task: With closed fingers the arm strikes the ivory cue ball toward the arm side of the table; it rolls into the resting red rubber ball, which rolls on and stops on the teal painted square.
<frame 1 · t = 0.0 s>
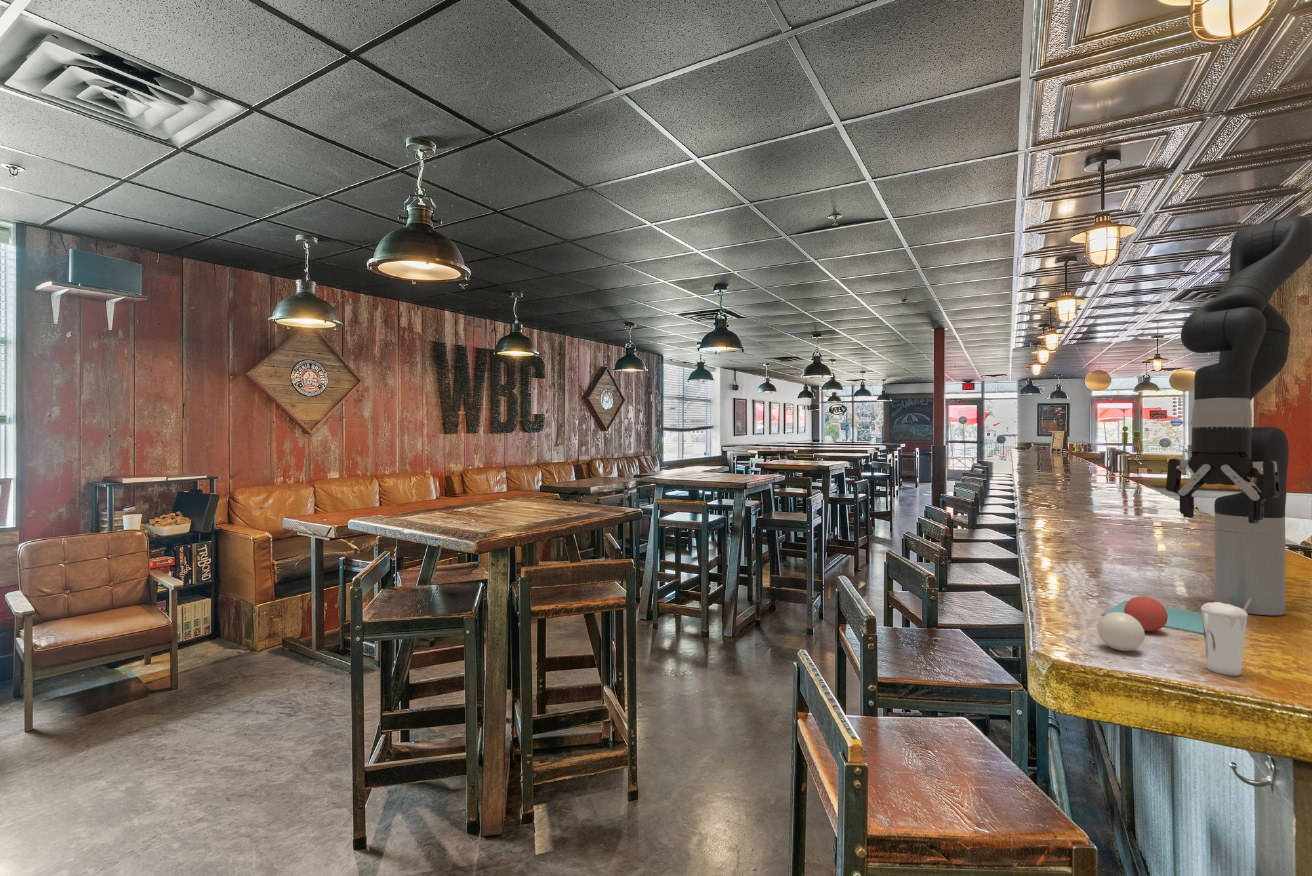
hand: (1219, 520, 103), 17 cm above the countertop, tool pointing down, fingers open, 8 cm apart
mark: (1163, 616, 105), on the countertop
ball b: (1145, 613, 97), on the countertop
ball a: (1120, 631, 88), on the countertop
milkshake: (1227, 672, 80), on the countertop
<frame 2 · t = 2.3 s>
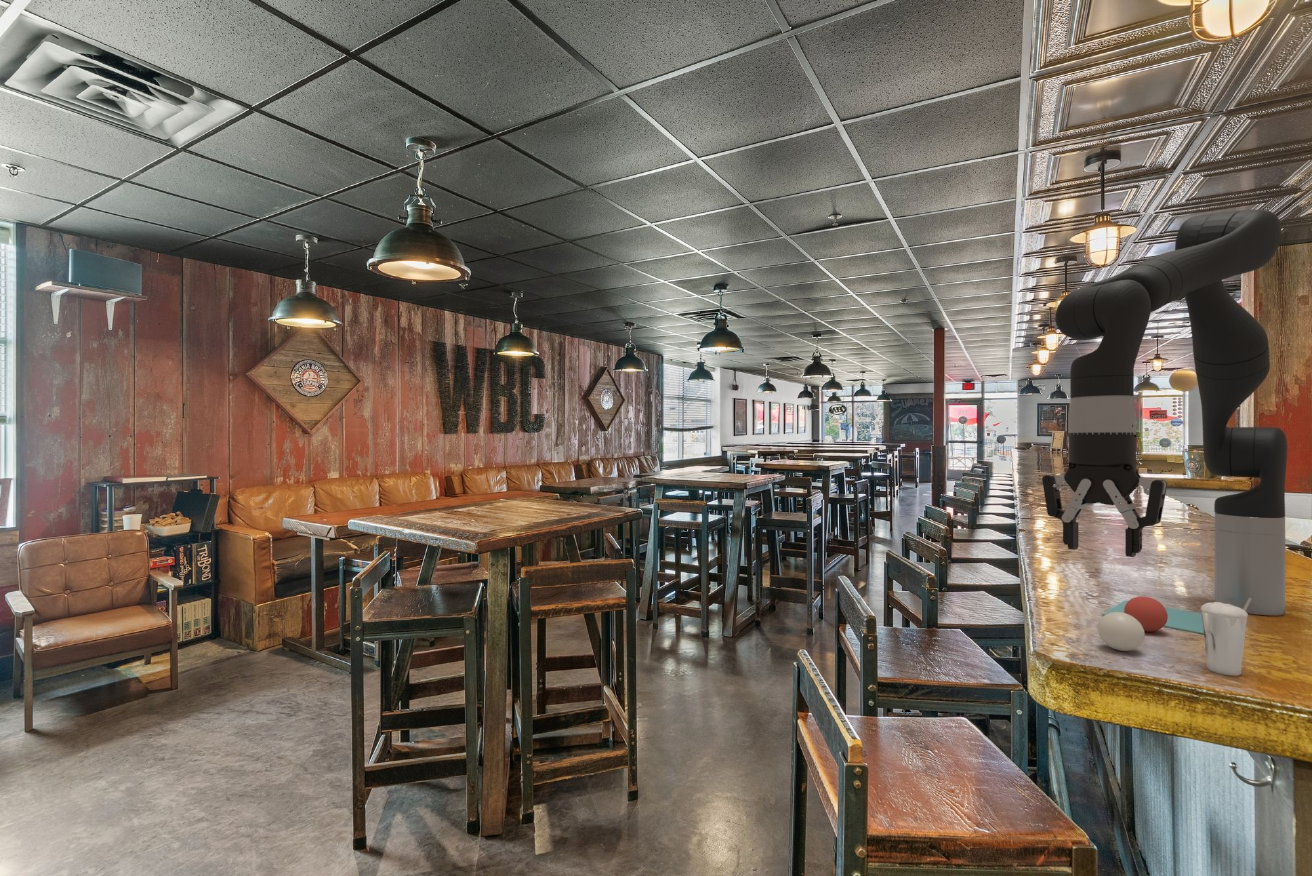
hand: (1101, 551, 82), 16 cm above the countertop, tool pointing down, fingers open, 6 cm apart
nothing on the countertop moved.
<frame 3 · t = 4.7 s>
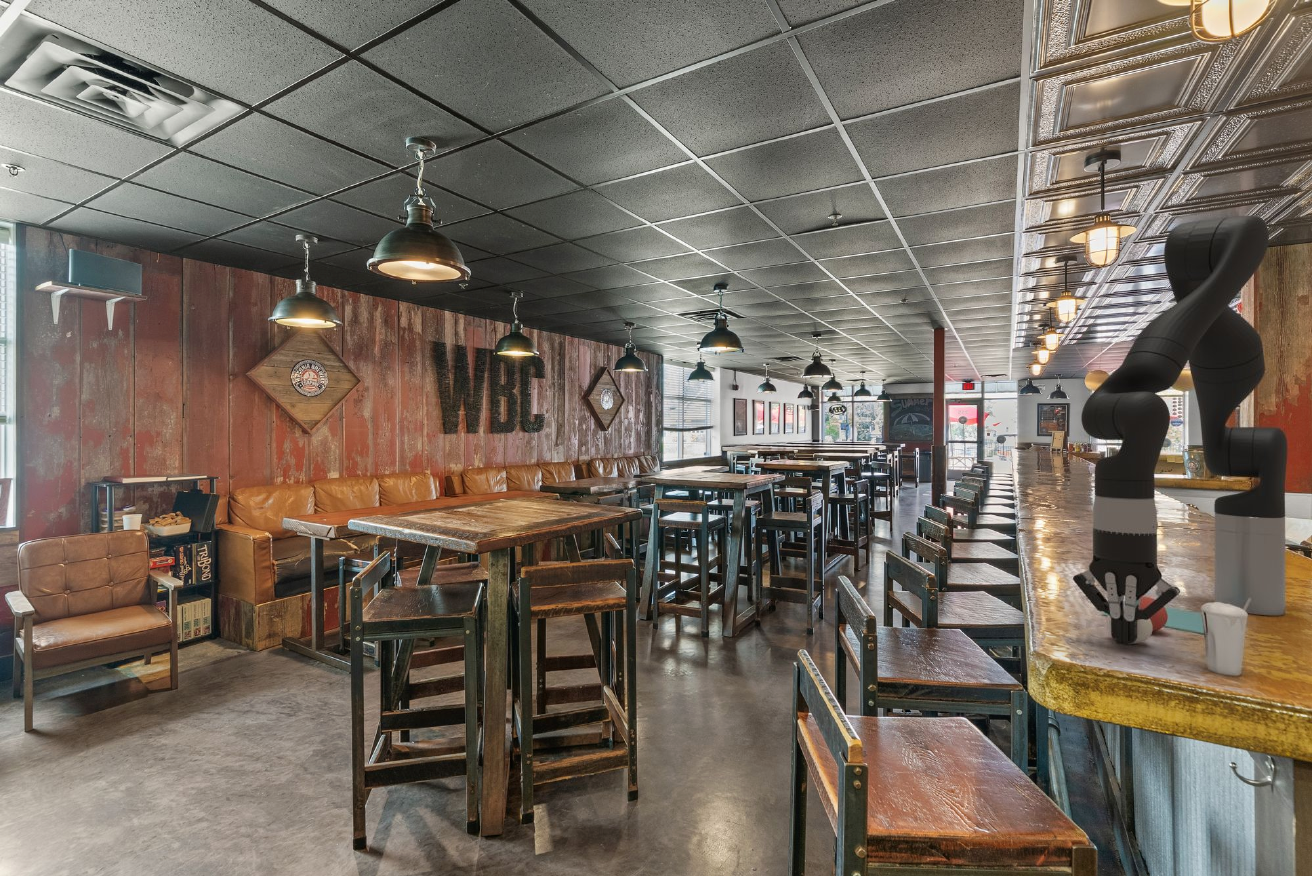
hand: (1124, 643, 89), 1 cm above the countertop, tool pointing down, fingers closed
ball a: (1129, 624, 92), on the countertop
everything else where it was.
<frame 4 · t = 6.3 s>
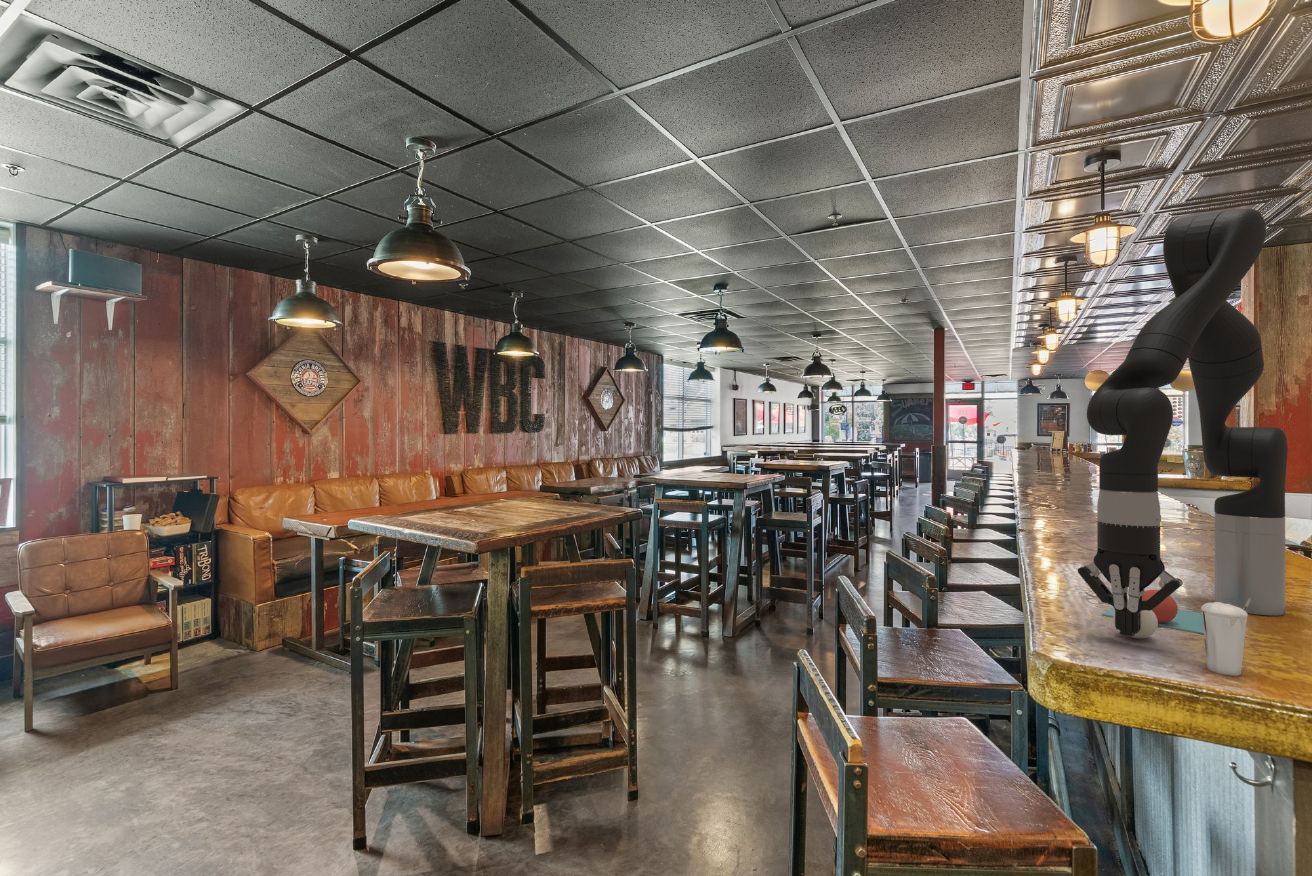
hand: (1128, 634, 91), 2 cm above the countertop, tool pointing down, fingers closed
ball b: (1156, 606, 102), on the countertop
ball a: (1135, 619, 94), on the countertop
everything else where it was.
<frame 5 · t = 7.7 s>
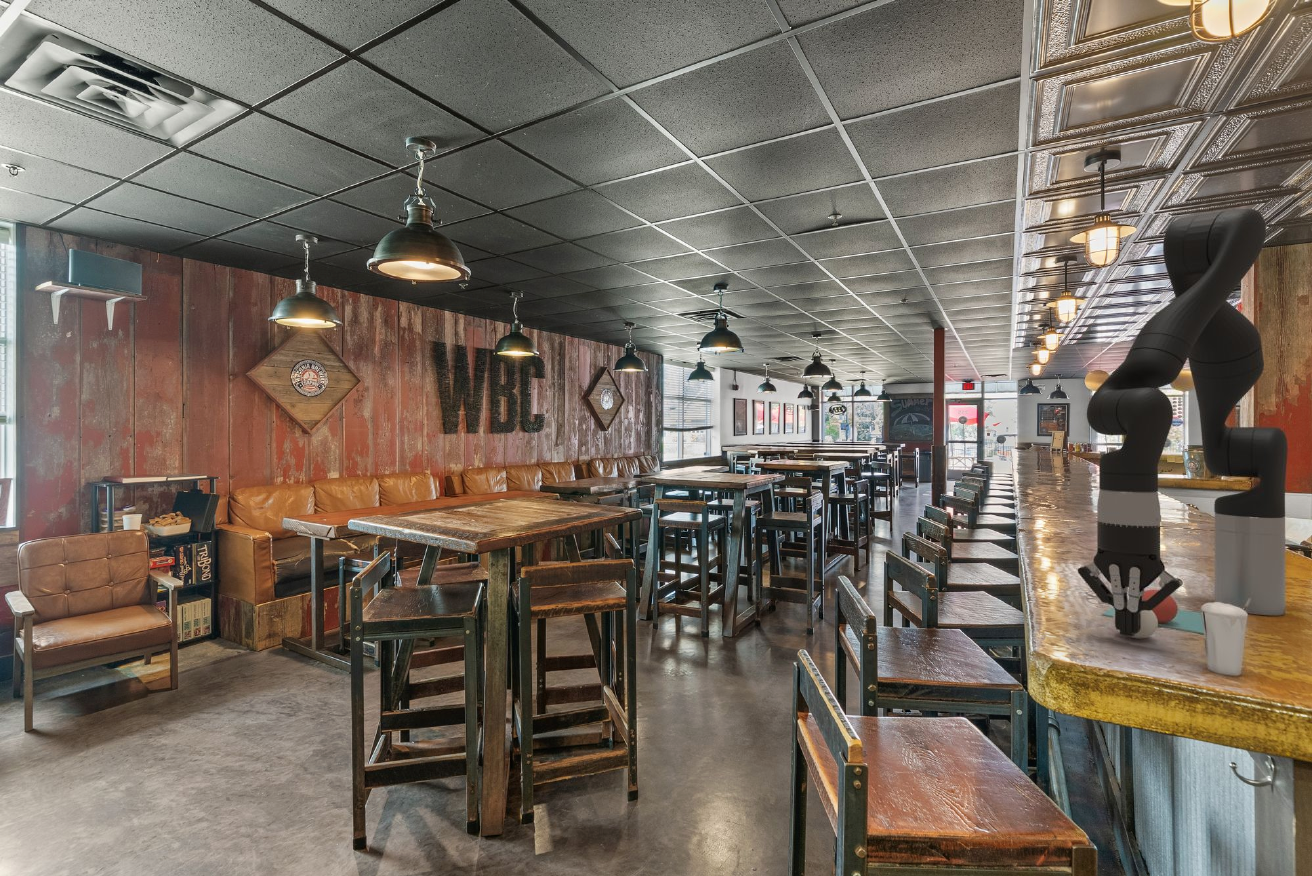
hand: (1128, 634, 91), 2 cm above the countertop, tool pointing down, fingers closed
nothing on the countertop moved.
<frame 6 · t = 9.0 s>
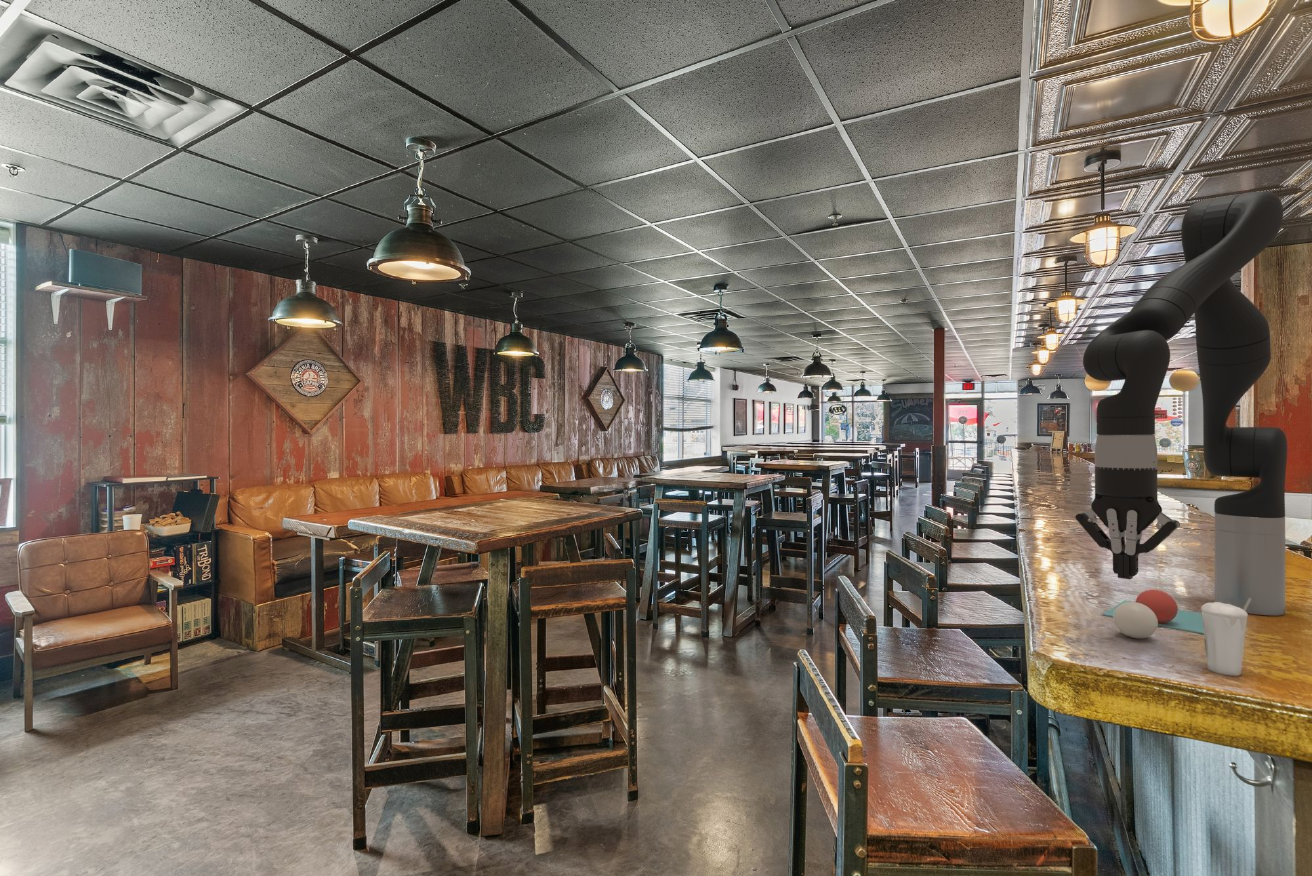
hand: (1125, 577, 91), 10 cm above the countertop, tool pointing down, fingers closed
nothing on the countertop moved.
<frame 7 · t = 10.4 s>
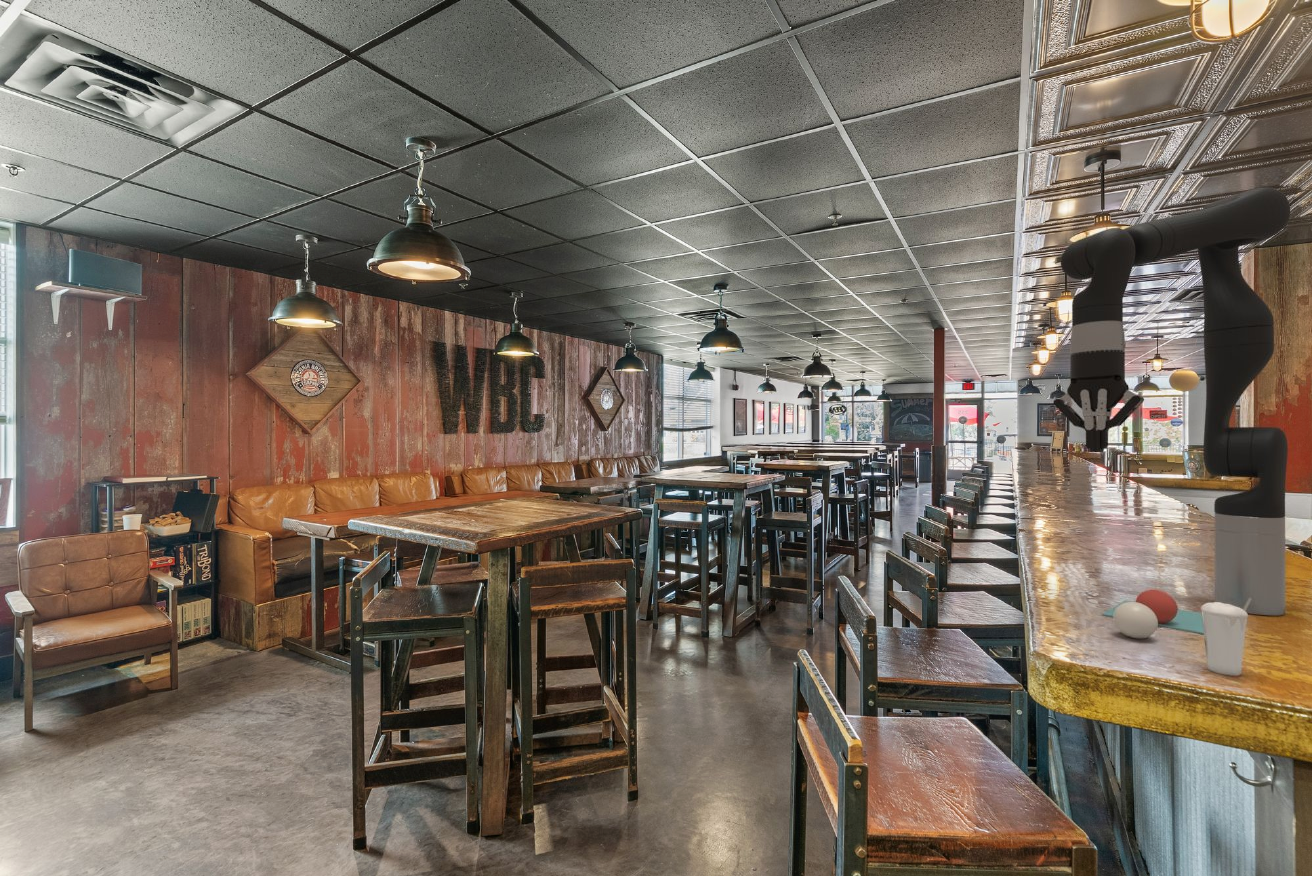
hand: (1097, 452, 103), 29 cm above the countertop, tool pointing down, fingers closed
nothing on the countertop moved.
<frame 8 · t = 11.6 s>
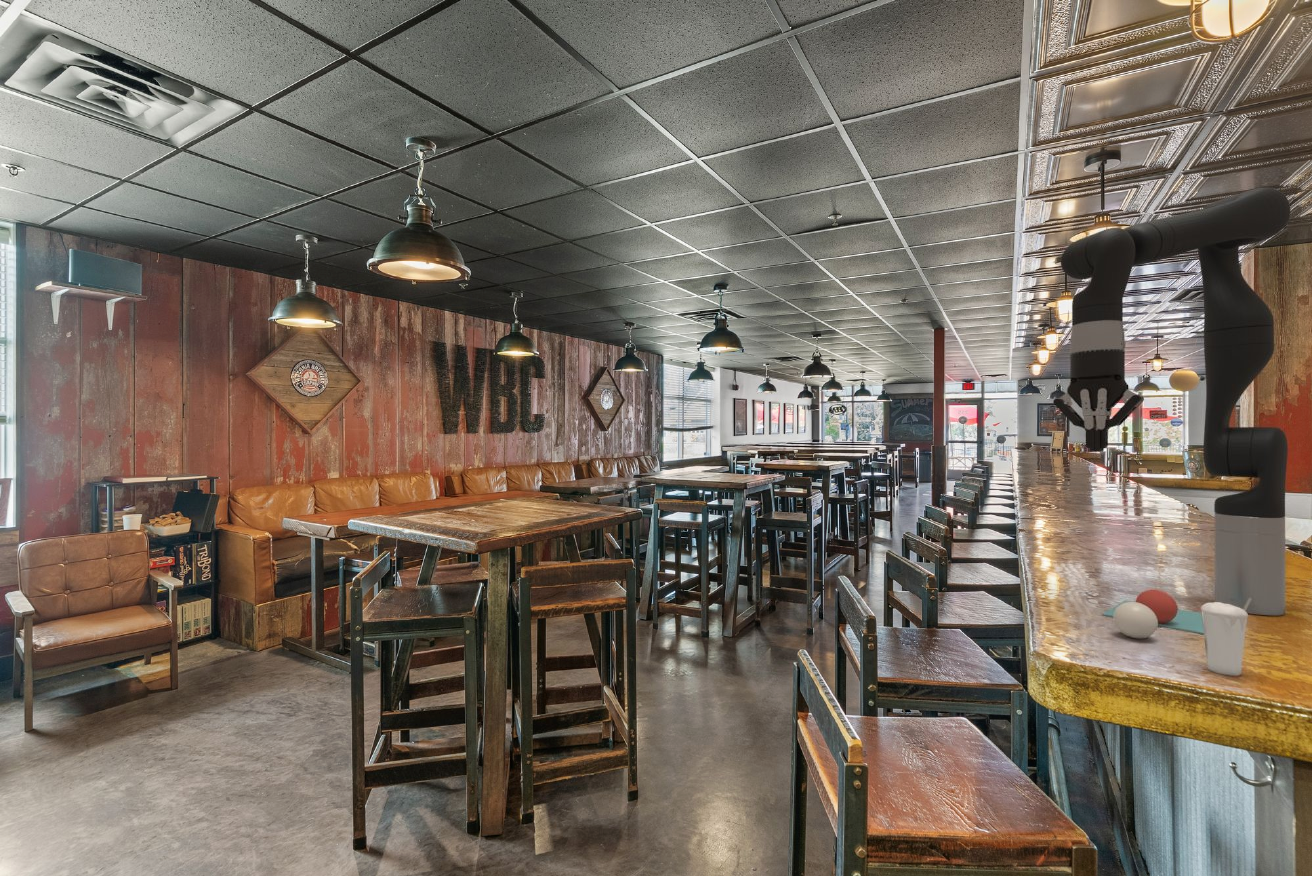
hand: (1096, 451, 103), 29 cm above the countertop, tool pointing down, fingers closed
nothing on the countertop moved.
at the end: ball b 5.2 cm from the mark (horizontally); ball b never touched the robot; ball a first touched ball b at 4.8 s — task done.
